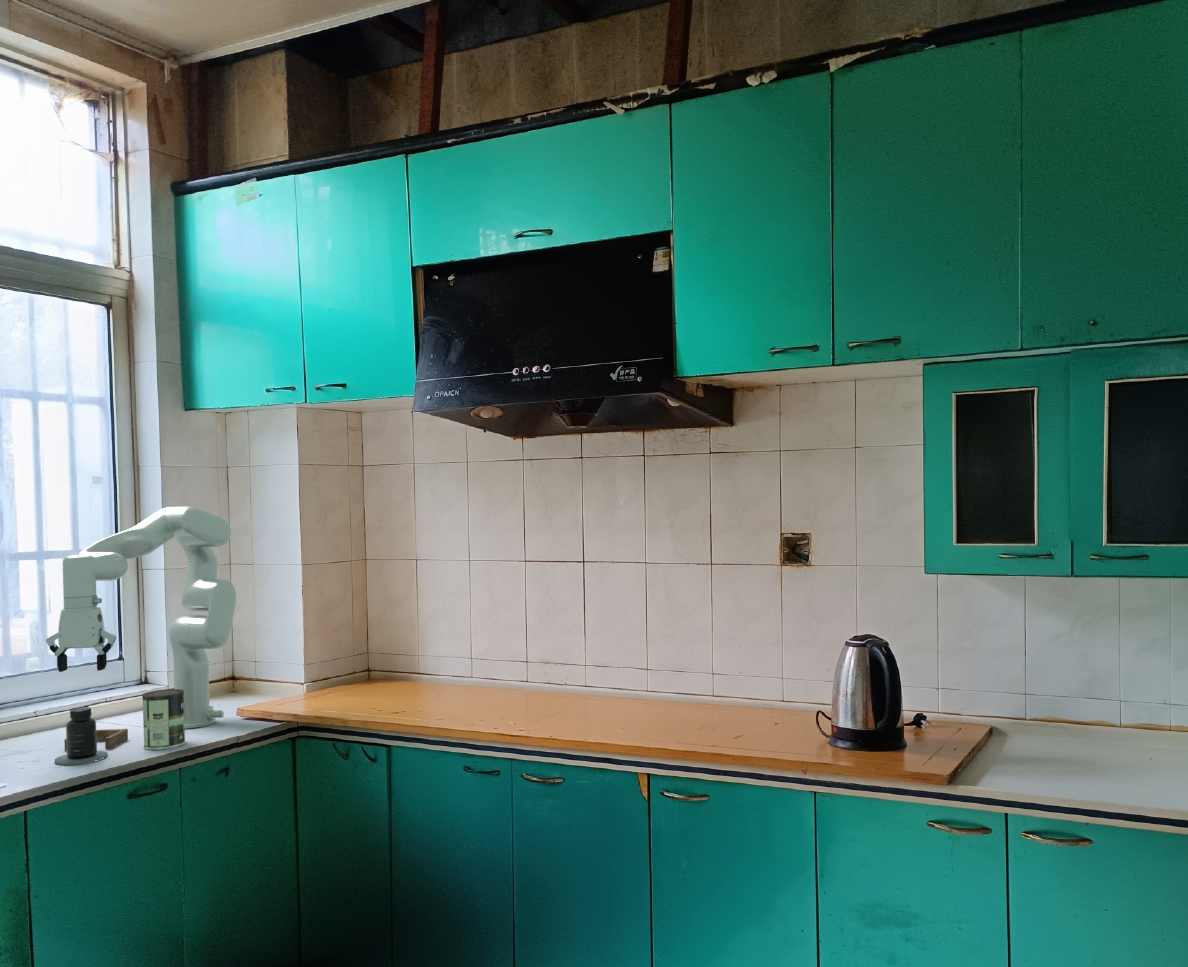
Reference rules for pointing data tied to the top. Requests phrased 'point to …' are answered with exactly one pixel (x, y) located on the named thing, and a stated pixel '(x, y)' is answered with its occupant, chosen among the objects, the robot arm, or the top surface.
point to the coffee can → (163, 719)
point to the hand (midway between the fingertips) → (82, 670)
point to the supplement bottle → (81, 734)
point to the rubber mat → (66, 761)
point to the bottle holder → (109, 737)
